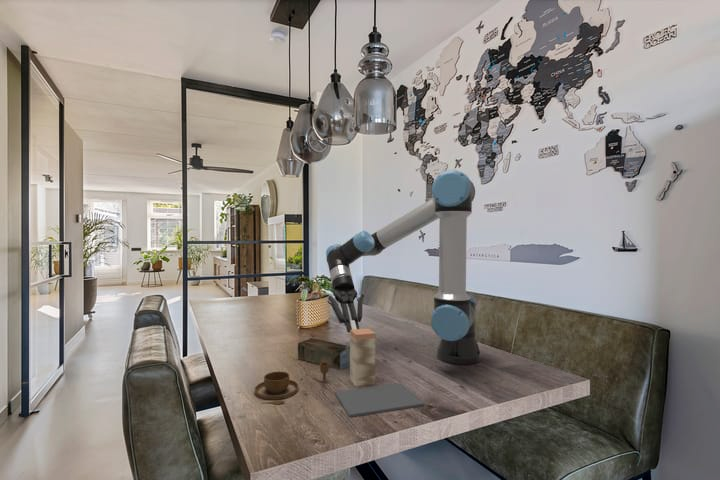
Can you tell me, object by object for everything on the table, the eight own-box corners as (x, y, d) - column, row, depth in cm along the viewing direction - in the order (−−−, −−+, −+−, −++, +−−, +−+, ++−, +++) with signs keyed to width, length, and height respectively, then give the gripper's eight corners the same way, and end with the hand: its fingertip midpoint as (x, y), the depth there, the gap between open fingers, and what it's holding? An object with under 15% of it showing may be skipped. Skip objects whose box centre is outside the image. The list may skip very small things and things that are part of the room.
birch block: (368, 376, 113) (368, 328, 113) (375, 384, 107) (375, 333, 107) (349, 378, 111) (350, 329, 111) (355, 386, 106) (356, 334, 105)
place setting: (264, 380, 111) (264, 361, 111) (329, 381, 111) (329, 361, 111) (245, 406, 94) (245, 383, 94) (323, 407, 94) (323, 384, 94)
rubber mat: (401, 384, 107) (401, 382, 107) (424, 405, 93) (424, 403, 93) (334, 393, 100) (334, 391, 100) (349, 417, 87) (349, 414, 87)
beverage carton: (340, 370, 119) (340, 350, 119) (296, 360, 129) (296, 341, 129) (353, 363, 125) (353, 344, 125) (311, 354, 136) (311, 336, 136)
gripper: (357, 287, 134) (372, 344, 119) (322, 288, 131) (333, 348, 115) (361, 274, 129) (378, 332, 114) (325, 275, 125) (337, 335, 110)
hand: (355, 340), depth 114 cm, fingers closed
